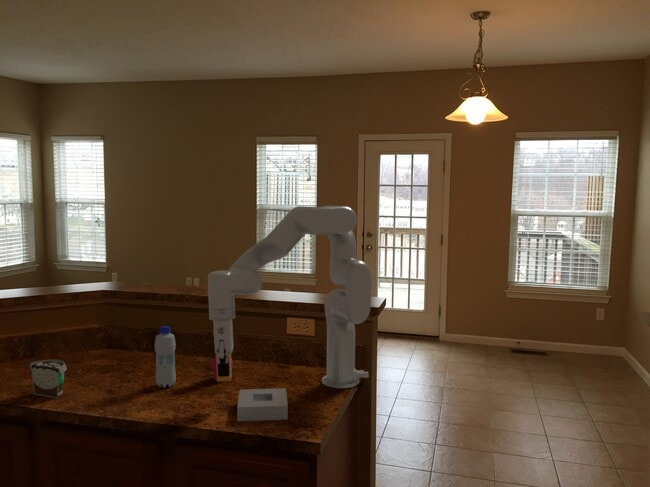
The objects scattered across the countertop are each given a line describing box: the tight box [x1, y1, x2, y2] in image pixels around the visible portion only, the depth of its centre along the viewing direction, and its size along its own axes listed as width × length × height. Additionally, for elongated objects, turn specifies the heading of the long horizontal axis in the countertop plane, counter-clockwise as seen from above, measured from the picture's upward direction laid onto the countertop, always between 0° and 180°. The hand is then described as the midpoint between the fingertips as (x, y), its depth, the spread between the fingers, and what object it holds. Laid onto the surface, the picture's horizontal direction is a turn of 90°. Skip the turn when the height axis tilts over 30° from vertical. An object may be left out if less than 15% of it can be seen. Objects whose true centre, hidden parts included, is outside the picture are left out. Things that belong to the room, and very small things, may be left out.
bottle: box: [154, 325, 177, 389], centre depth 179 cm, size 7×7×20 cm
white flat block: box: [236, 387, 289, 422], centre depth 159 cm, size 14×14×4 cm
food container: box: [29, 359, 67, 399], centre depth 172 cm, size 12×6×10 cm, turn 71°
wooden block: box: [215, 351, 233, 382], centre depth 161 cm, size 4×4×9 cm
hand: (224, 372), depth 161 cm, fingers closed on wooden block, 4 cm apart
